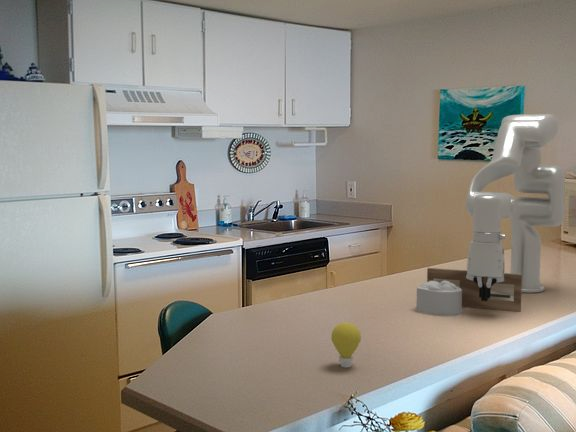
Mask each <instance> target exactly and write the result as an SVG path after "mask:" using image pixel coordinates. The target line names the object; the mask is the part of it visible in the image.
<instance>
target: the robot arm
mask: <svg viewBox="0 0 576 432" xmlns="http://www.w3.org/2000/svg"><path fill="white" fill-rule="evenodd" d="M558 131H559V123H558V119H557V117H556V116H555V115H554V114H551V113H537V114H536V113H535V114H533V113H532V114H530V113H529V114H527V113H523V114H512V115H511V114H510V115H507V116H505V117H503V118H502V119H501V125H500V126H499V129H498V132H497V135H496V136H497V137H496V140H495V146H494V148H493V153H492V156H491V160H490V162H488V163H487V164H486V165H484V166H483V167H481V168H480V169H479V171H478V172H477V173H476V174H475V175H474V176H473V177H472V179H471V181H470V184H469V187H468V189H467V194H466V198H465V209H466V212H467V214H468V215H470V216H471V217H472V240H471V241H470V242H469V248H468V252H467V260H466V261H467V264H466V270H467V276H466V278H467V279H469V280H473V281H474V282H475V283H476V284H477V285H478V286H479V297H481V301H488V298H490V295H491V286H492V285H494V284H495V283H496V282H503V281H504V280H505V278H504V273H505V269H506V267H505V250H504V249H505V248H504V243H503V242H501V240H505V239H506V234H503V233H501V219H509V218H510V226H511V228H510V230H511V231H510V232H511V236H510V237H511V239H510V241H511V242H510V245H511V246H510V274H522V290H521V293H525V294H526V293H530V294H531V293H534V294H535V293H541V292H544V291H545V286H544V285H542V284H540V279H541V278H540V277H541V252H542V251H541V250H542V249H541V248H542V238H541V235H540V232H538V231H537V229H536V226H537V227H538V226H540V227H560V225H562V224H563V223H564V221H565V214H566V213H565V212H566V208H565V207H566V206H565V205H566V204H565V203H566V182H565V181H566V177H565V173H564V170H563V168H562V167H560V166H559V165H556V164H555V165H554V164H542V162H541V161H542V160H541V159H542V158H541V154H542V153H541V152H542V151H541V148H544V147H546V146H548V144H550V143H552V141H553V140H555V138H556V136H557V134H558ZM511 175H513V184H514V189H515V191H517V192H519V193H523V194H540V195H544V194H545V195H547V196H548V197H539V196H519V197H515V196H514V195H512V194H510V192H509V193H508V192H496V191H484V189H485V188H486V186H488V185H489V184H491V183H493V182H494V181H498V180H500V179H503V178H505V177H508V176H511ZM483 277H488V280H487V285H486V287H485V286H484V285H485V284H484V282H483ZM493 278H494V279H493Z"/></svg>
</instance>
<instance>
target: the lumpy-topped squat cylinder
mask: <svg viewBox="0 0 576 432" xmlns="http://www.w3.org/2000/svg"><path fill="white" fill-rule="evenodd" d="M416 312H418V313H422V314H428V315H434V316H441V317H442V316H444V317H445V316H446V317H449V316H450V317H453V316H460V315H462V313H463V306H462V289H461V288H459V287H456V285H455V284H453V283H450V282H449V281H442V282H441V283H439V282H436V281H429V282H422V283H421V285H418V286H416Z"/></svg>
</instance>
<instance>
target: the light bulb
mask: <svg viewBox="0 0 576 432" xmlns="http://www.w3.org/2000/svg"><path fill="white" fill-rule="evenodd" d="M330 337H331V338H330V339H331V342H332V344H333V345H334V348H335V350H336V351H337V353H338V354H339V355H338V362H339V363H340V367H342V368H350V367H352V363H354V357H353V354H354V353H355V351H356V350H357V348H358V347H359V345H360V343H361V340H362V337H361V332H360V329H359V328H358V327H357V326H356V325H355V324H353V323H351V322H345V321H344V322H341V323H338V324H337V325H336V326H335V327H334V328H333V329H332V332H331V336H330Z"/></svg>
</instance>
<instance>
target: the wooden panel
mask: <svg viewBox="0 0 576 432" xmlns="http://www.w3.org/2000/svg"><path fill="white" fill-rule="evenodd" d="M426 270H427V271H426V278H427V279H426V281H427V282H429V281H436V282H439V283H441V282H442V281H449V282H450V283H453V284H455V285H456V287H459V288H461V289H462V307H465V308H466V307H467V308H477V309H487V310H498V311H499V310H500V311H509V312H510V311H511V312H519V313H521V311H522V292H521V290H522V274H510V273H508V272H504V278H505V280H504V281H503V282H496V283H495V284H494V285H492V286H491V295H490V298H488V301H481V297H479V286H478V285H477V284H476V283H475V282H474V281H473V280H469V279H467V278H466V276H467V269H466V270H465V269H464V270H463V269H451V268H449V269H448V268H437V267H428V268H427V269H426ZM493 279H494V278H493ZM487 280H488V277H483V282H484V284H485V285H484V286H485V287H486V285H487Z"/></svg>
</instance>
